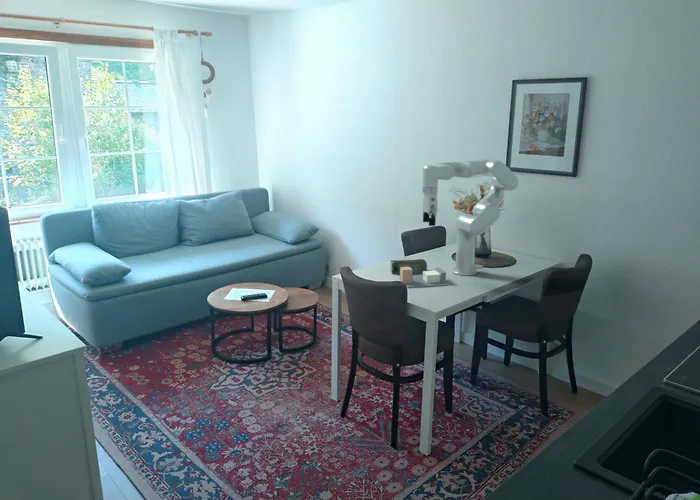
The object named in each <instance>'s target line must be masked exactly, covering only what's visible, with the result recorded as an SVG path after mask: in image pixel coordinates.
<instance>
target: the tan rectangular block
mask: <svg viewBox="0 0 700 500" xmlns="http://www.w3.org/2000/svg"><path fill="white" fill-rule="evenodd" d="M413 277H414V275H413V269H412V268H411V267H400V274H399V281H400V282H401V281H402V282H404V283H412V279H413ZM402 282H401V283H402ZM404 283H403V284H404Z"/></svg>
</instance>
